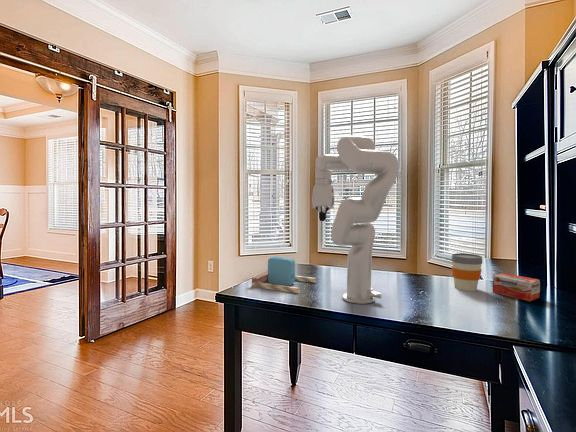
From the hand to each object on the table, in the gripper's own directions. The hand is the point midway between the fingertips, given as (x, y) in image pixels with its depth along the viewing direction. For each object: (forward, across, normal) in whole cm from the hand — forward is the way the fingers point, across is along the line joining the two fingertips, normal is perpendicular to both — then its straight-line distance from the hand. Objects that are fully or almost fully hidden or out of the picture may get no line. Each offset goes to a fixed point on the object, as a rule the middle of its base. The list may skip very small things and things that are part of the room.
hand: (322, 220), depth 172 cm
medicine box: (+30, -82, -15) cm, 88 cm away
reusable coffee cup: (+29, -63, -17) cm, 72 cm away
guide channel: (+29, +12, +15) cm, 35 cm away
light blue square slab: (+29, +15, +14) cm, 36 cm away
